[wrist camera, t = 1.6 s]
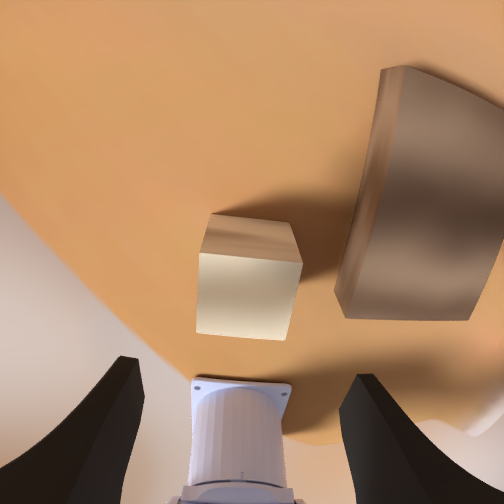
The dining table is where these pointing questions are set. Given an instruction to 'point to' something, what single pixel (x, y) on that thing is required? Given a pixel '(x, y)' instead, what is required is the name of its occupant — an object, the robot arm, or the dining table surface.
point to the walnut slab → (425, 203)
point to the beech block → (247, 278)
